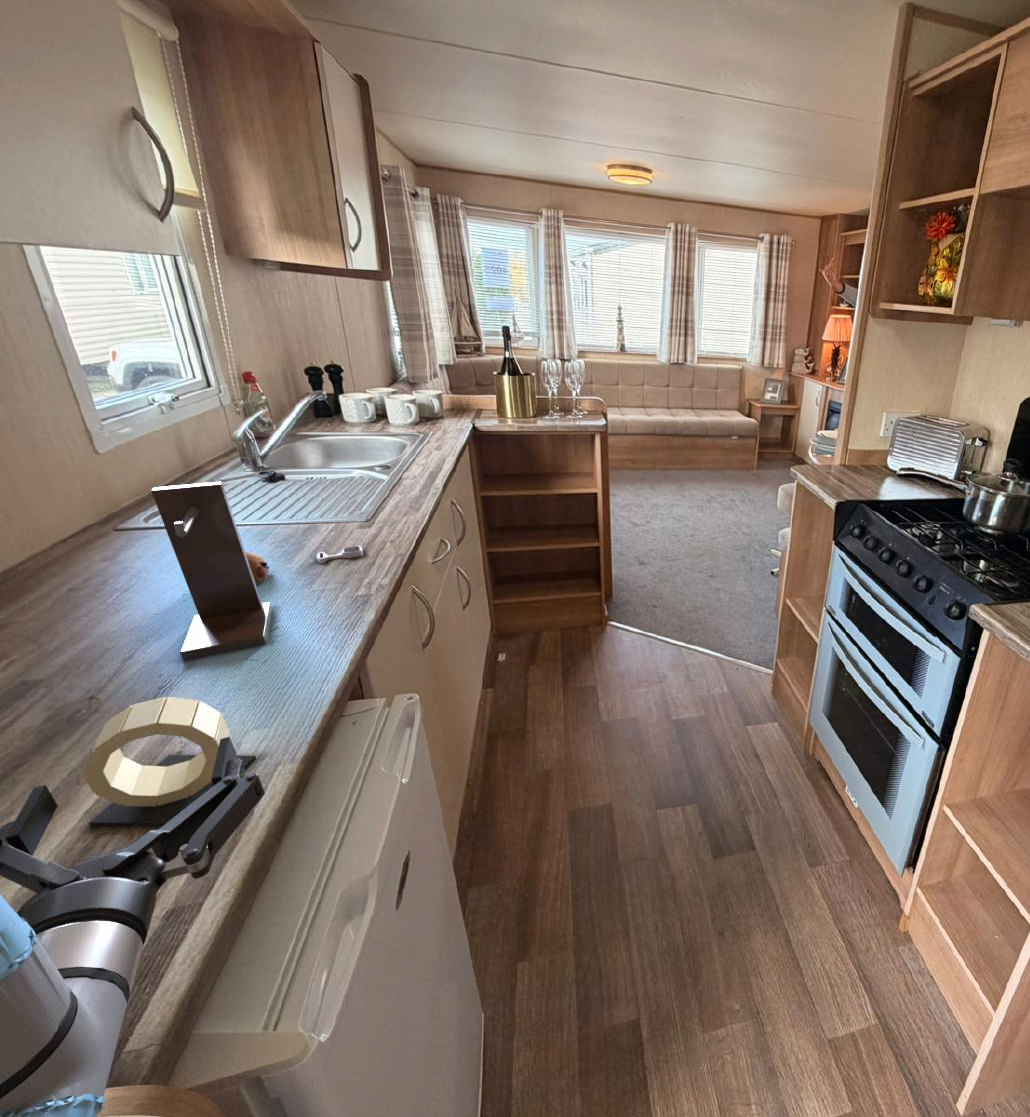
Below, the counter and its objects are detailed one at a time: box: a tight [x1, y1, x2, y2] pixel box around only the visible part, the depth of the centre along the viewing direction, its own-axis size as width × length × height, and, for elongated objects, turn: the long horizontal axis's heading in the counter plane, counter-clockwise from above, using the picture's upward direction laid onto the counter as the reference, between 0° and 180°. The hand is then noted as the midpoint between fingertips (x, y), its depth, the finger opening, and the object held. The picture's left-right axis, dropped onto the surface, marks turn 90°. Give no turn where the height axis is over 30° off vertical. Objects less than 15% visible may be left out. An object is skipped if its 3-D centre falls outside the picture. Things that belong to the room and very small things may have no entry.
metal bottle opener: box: [316, 544, 364, 564], centre depth 123 cm, size 4×8×1 cm, turn 124°
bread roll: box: [245, 551, 270, 586], centre depth 111 cm, size 10×10×8 cm
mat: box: [88, 754, 257, 828], centre depth 67 cm, size 10×10×1 cm
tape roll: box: [82, 696, 230, 807], centre depth 65 cm, size 5×10×10 cm, turn 122°
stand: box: [150, 481, 273, 662], centre depth 91 cm, size 13×10×24 cm
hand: (142, 770), depth 60 cm, fingers open, 13 cm apart
